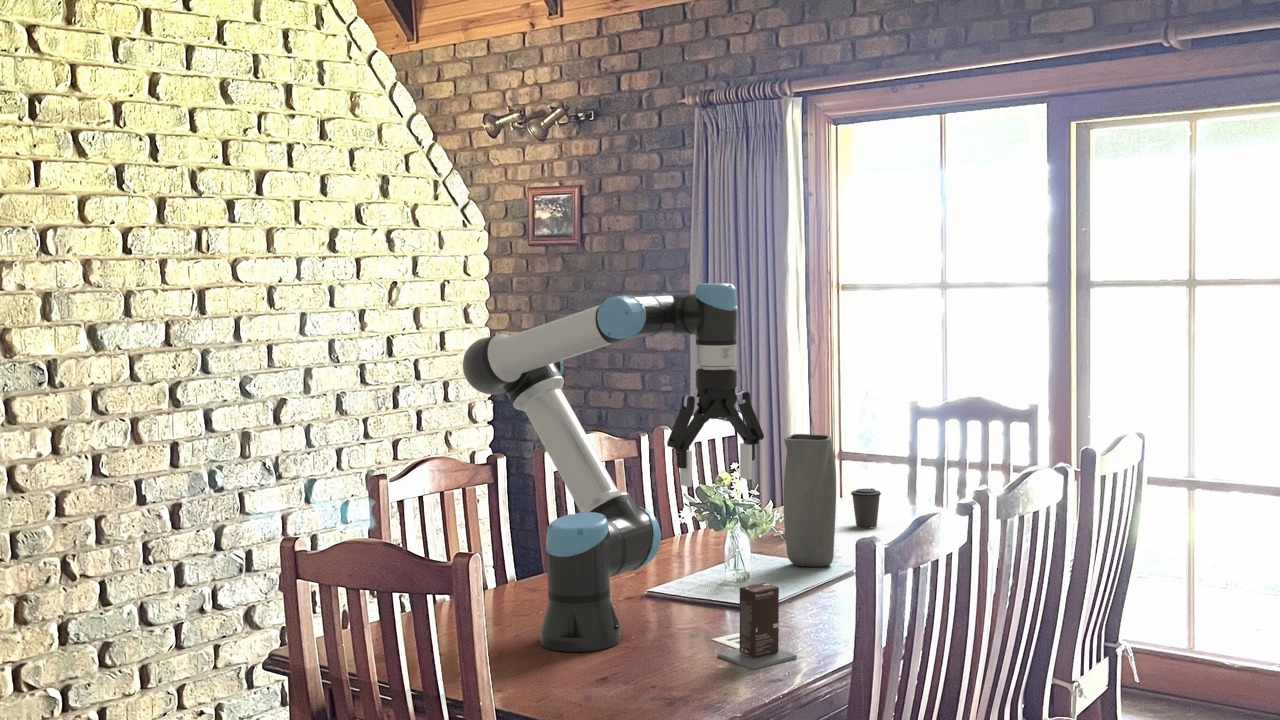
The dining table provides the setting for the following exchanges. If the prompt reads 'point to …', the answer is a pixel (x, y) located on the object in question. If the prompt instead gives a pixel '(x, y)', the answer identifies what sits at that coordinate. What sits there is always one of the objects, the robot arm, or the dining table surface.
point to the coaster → (756, 658)
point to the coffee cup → (866, 507)
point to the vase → (809, 499)
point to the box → (759, 620)
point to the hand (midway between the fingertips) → (716, 482)
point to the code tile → (729, 640)
